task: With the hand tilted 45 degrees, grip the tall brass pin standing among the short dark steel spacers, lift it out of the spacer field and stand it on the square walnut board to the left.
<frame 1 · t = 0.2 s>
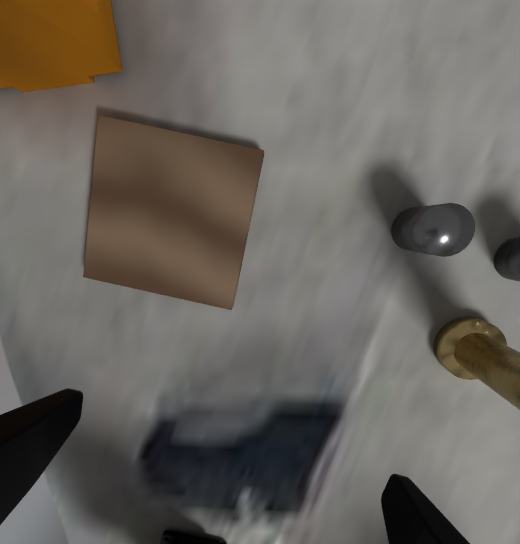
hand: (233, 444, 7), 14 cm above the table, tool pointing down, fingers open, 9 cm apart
spacer 3: (413, 229, 20), on the table
board: (173, 217, 21), on the table
bracket: (49, 34, 19), on the table
brass pin: (464, 345, 21), on the table
spacer 1: (516, 258, 20), on the table
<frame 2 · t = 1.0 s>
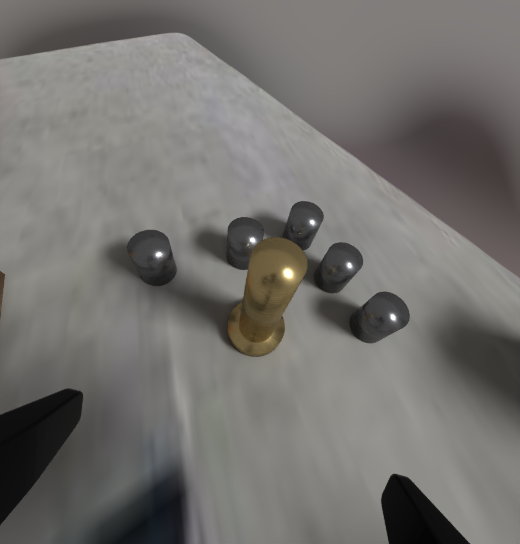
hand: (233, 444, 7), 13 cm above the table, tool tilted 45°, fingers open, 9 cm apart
spacer 5: (297, 238, 29), on the table
spacer 3: (158, 270, 25), on the table
spacer 4: (366, 326, 25), on the table
spacer 2: (329, 278, 27), on the table
brass pin: (255, 328, 23), on the table
spacer 1: (242, 256, 27), on the table
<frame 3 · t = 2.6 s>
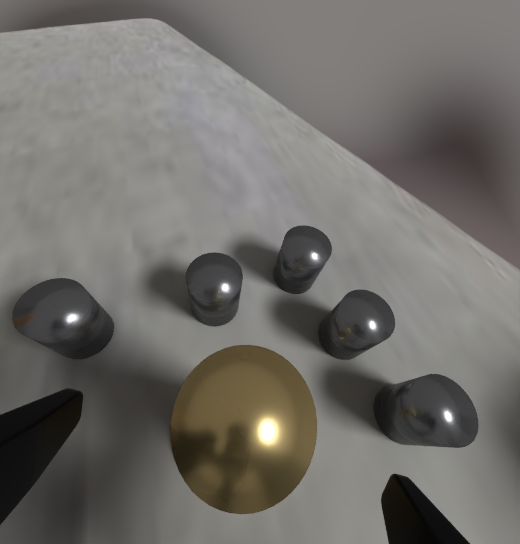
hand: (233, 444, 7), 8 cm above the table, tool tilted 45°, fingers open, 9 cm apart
spacer 5: (293, 275, 21), on the table
spacer 3: (85, 332, 16), on the table
spacer 4: (398, 413, 16), on the table
spacer 2: (340, 336, 19), on the table
brass pin: (229, 428, 15), on the table
spacer 1: (215, 304, 19), on the table
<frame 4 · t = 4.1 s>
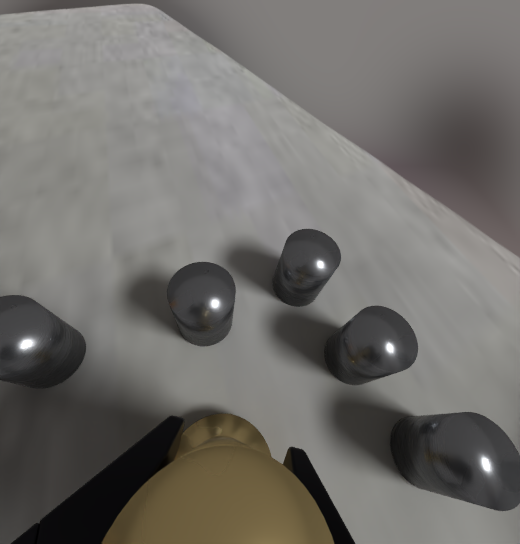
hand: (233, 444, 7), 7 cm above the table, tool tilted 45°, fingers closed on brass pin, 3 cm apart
spacer 5: (295, 285, 18), on the table
spacer 3: (52, 355, 14), on the table
spacer 4: (419, 451, 14), on the table
spacer 2: (350, 356, 16), on the table
brass pin: (219, 473, 12), on the table, touching gripper
spacer 1: (205, 319, 16), on the table
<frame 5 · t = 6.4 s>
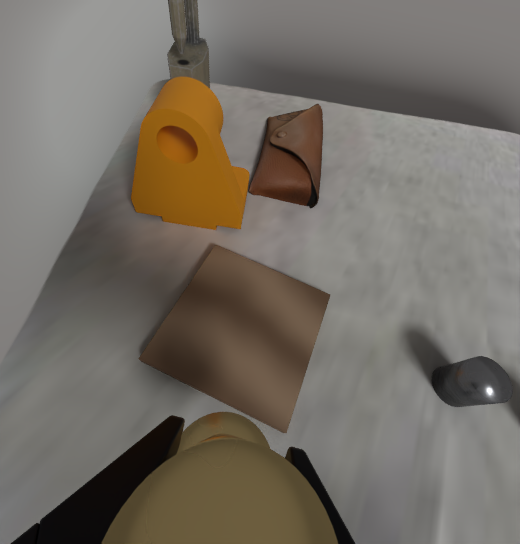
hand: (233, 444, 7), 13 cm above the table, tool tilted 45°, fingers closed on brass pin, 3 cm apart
sunglasses case: (287, 160, 37), on the table
spacer 3: (450, 386, 23), on the table
board: (244, 327, 23), on the table
bracket: (197, 203, 30), on the table
padlock: (194, 123, 37), on the table
brass pin: (220, 471, 12), point 7 cm above the table, touching gripper
when the fingers open (9 cm above the table, at t = 8.7 s): brass pin drops 1 cm, resting on board.
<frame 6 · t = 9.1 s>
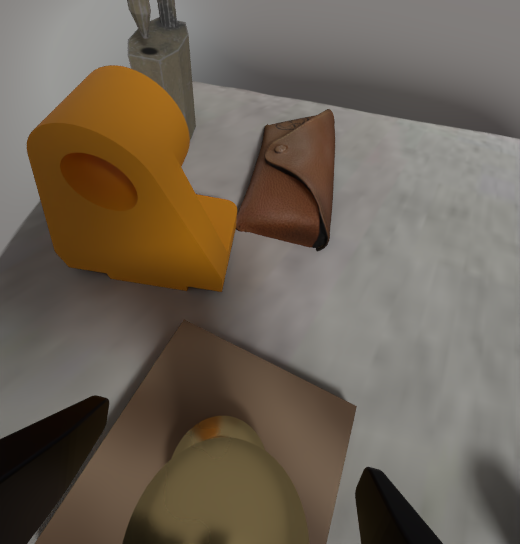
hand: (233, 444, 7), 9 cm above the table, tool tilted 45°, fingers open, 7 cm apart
sunglasses case: (288, 182, 28), on the table, touching bracket
board: (219, 467, 14), on the table
bracket: (164, 247, 22), on the table, touching sunglasses case
padlock: (174, 133, 29), on the table
brass pin: (219, 470, 14), point 1 cm above the table, touching board
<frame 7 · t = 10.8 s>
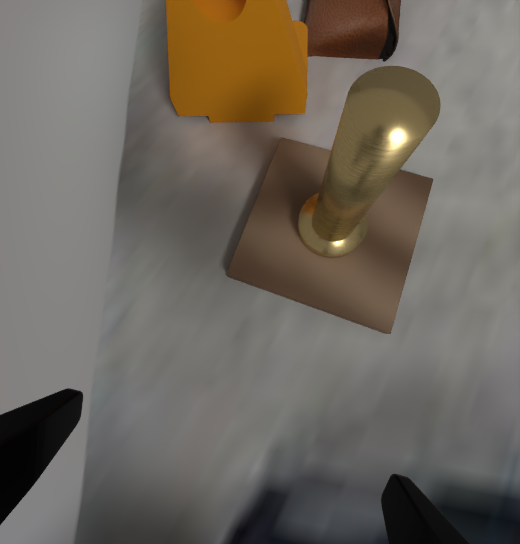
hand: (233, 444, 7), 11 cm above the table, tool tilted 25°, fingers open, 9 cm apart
board: (328, 231, 20), on the table
bracket: (244, 89, 24), on the table
brass pin: (330, 226, 20), point 1 cm above the table, touching board
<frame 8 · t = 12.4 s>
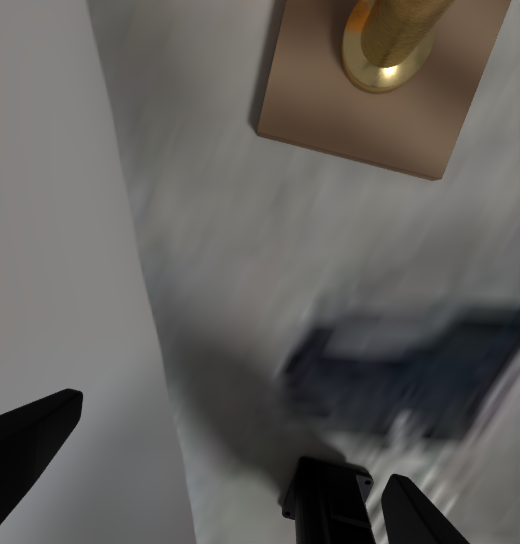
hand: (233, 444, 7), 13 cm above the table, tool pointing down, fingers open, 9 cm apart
board: (375, 56, 16), on the table
brass pin: (381, 47, 15), point 1 cm above the table, touching board
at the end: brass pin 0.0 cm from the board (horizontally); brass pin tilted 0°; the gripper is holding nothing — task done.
